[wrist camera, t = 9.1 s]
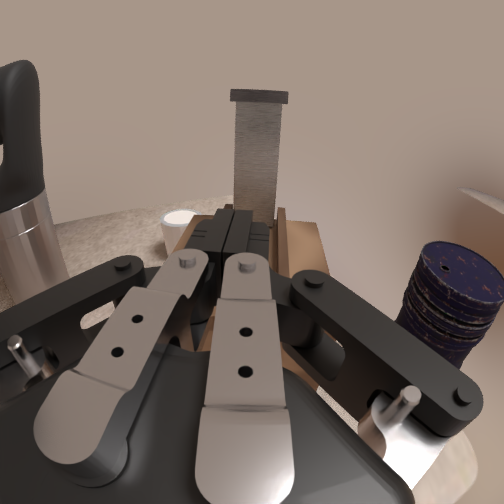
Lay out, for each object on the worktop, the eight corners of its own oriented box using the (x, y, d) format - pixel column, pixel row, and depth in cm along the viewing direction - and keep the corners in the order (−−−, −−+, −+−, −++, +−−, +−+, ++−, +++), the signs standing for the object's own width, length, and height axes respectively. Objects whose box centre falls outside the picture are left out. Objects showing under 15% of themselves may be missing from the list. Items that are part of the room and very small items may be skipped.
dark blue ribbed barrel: (425, 340, 32) (472, 243, 24) (453, 398, 24) (525, 299, 16) (361, 346, 32) (402, 237, 24) (382, 415, 23) (456, 308, 16)
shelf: (168, 393, 26) (137, 290, 19) (199, 295, 39) (193, 202, 32) (309, 406, 25) (346, 307, 18) (302, 302, 39) (317, 210, 32)
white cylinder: (165, 245, 50) (161, 209, 47) (203, 243, 51) (201, 206, 48) (162, 267, 44) (157, 227, 41) (205, 264, 46) (203, 224, 42)
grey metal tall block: (228, 224, 30) (230, 89, 23) (232, 211, 33) (235, 89, 26) (278, 228, 30) (288, 91, 23) (277, 214, 33) (286, 92, 26)
